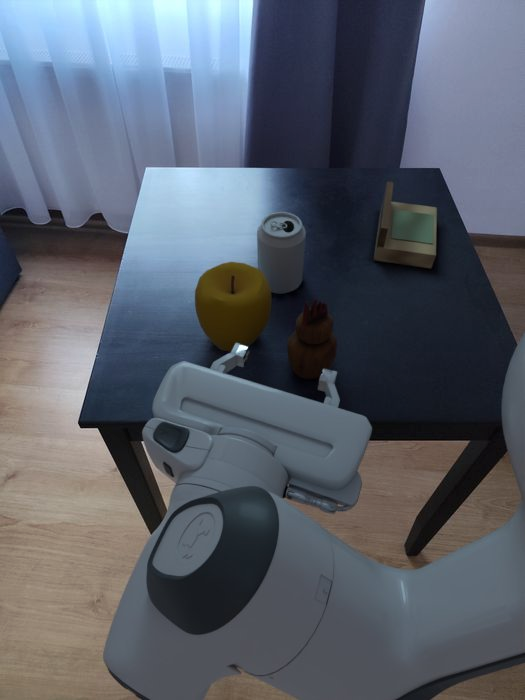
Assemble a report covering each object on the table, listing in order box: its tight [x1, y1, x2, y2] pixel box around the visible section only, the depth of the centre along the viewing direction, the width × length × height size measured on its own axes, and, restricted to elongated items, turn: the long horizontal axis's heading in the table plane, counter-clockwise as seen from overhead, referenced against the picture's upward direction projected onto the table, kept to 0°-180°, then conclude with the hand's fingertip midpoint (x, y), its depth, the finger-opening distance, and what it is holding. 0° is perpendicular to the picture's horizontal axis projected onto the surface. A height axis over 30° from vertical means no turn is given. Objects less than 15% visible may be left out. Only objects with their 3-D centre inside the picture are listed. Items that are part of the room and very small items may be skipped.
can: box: [256, 211, 307, 295], centre depth 76 cm, size 8×8×12 cm
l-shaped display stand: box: [373, 181, 438, 269], centre depth 85 cm, size 10×14×7 cm
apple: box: [194, 261, 272, 353], centre depth 68 cm, size 11×11×13 cm
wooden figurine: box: [286, 298, 338, 380], centre depth 64 cm, size 7×6×15 cm
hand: (285, 360), depth 49 cm, fingers open, 8 cm apart
